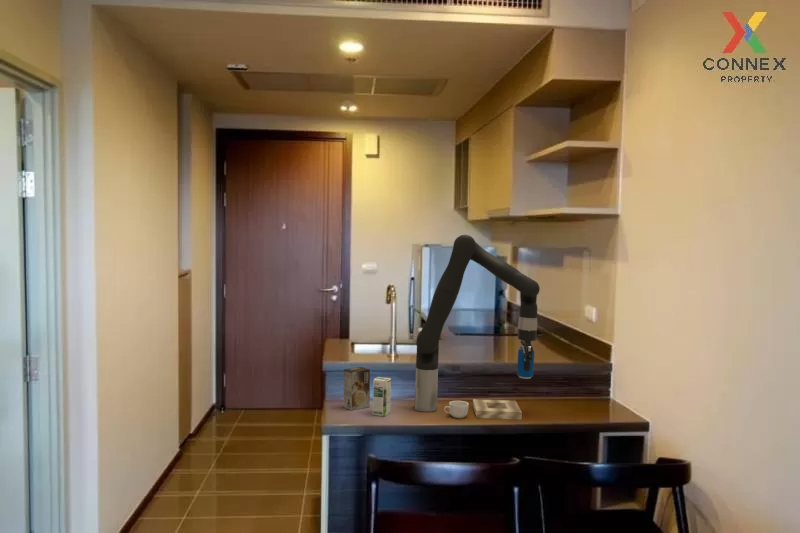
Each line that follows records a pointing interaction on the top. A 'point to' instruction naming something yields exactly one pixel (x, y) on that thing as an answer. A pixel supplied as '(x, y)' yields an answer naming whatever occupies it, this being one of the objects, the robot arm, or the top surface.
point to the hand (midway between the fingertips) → (525, 368)
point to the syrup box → (381, 396)
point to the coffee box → (356, 388)
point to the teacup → (458, 408)
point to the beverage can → (520, 366)
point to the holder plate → (497, 409)
